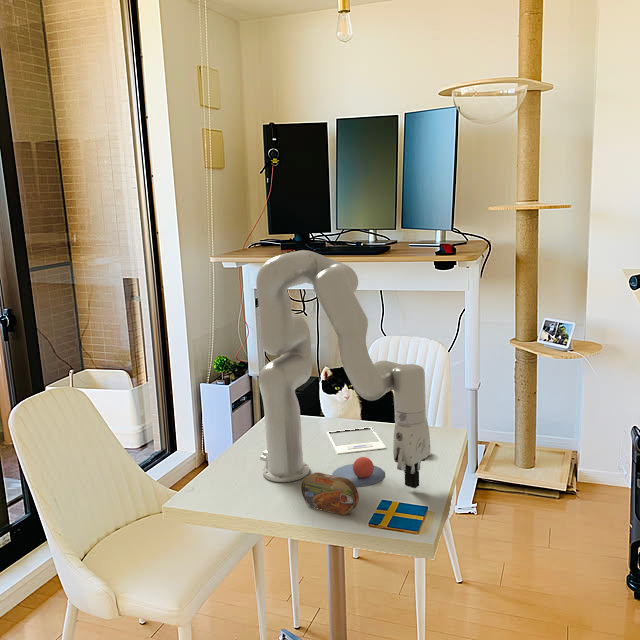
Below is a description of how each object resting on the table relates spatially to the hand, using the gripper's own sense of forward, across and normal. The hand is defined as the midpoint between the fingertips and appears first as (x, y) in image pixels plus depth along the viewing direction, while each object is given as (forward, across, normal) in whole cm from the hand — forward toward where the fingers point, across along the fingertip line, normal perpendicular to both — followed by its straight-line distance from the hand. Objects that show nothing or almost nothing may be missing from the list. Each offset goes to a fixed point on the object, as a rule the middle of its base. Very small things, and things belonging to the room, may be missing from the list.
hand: (412, 485), depth 161 cm
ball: (-1, 0, +15) cm, 15 cm away
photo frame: (+2, +19, +33) cm, 38 cm away
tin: (+2, -19, +11) cm, 22 cm away
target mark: (+2, 0, +17) cm, 17 cm away
